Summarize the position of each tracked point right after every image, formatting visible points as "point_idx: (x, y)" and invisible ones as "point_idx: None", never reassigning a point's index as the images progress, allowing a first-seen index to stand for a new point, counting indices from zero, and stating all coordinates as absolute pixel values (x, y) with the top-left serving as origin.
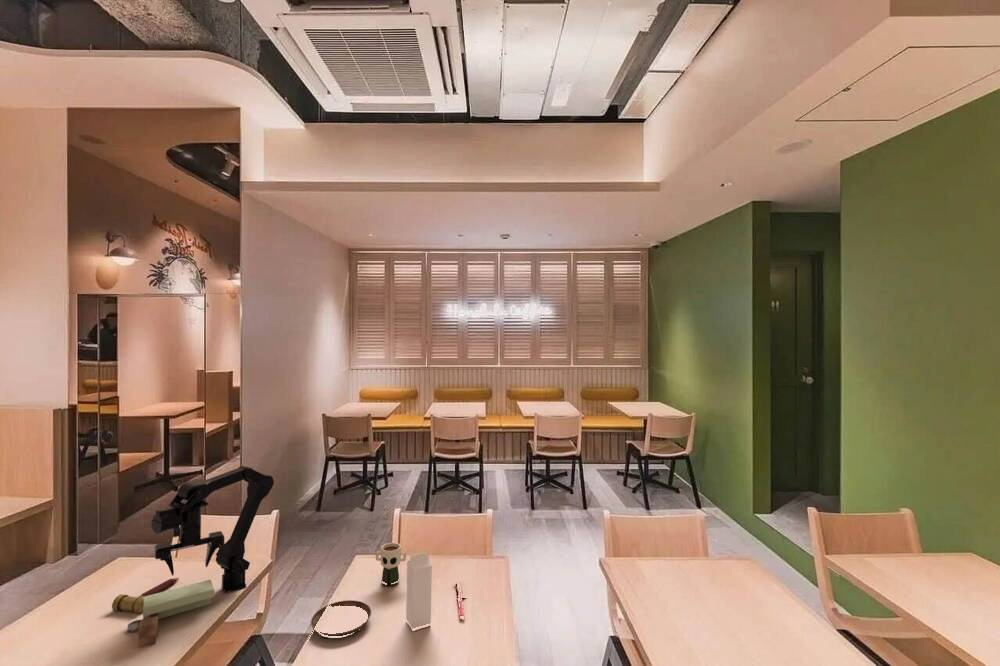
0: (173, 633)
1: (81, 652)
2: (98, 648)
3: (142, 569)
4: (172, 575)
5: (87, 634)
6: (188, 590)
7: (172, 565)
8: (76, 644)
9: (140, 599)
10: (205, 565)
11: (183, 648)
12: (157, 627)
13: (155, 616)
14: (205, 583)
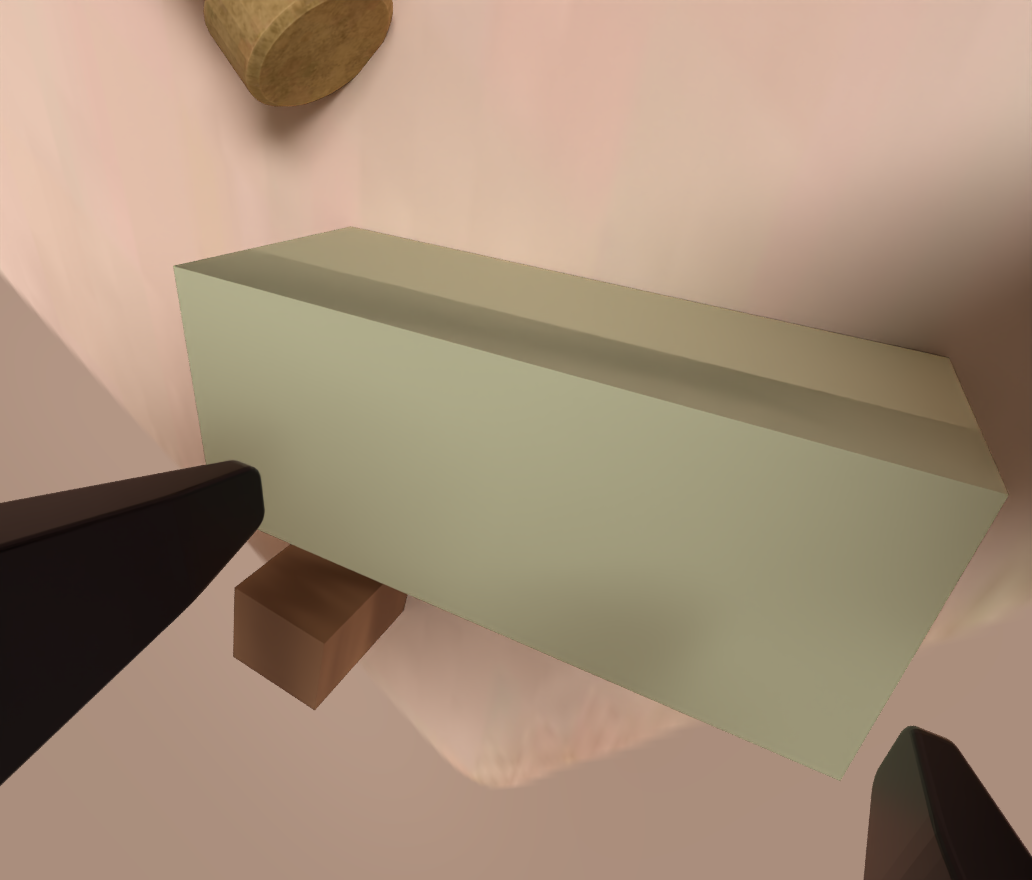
0: None
1: (115, 362)
2: (173, 394)
3: None
4: (249, 515)
5: (82, 153)
6: (581, 541)
7: (17, 761)
8: (69, 244)
9: (223, 30)
10: (908, 741)
11: (510, 764)
12: (377, 595)
13: (310, 634)
14: (846, 556)
